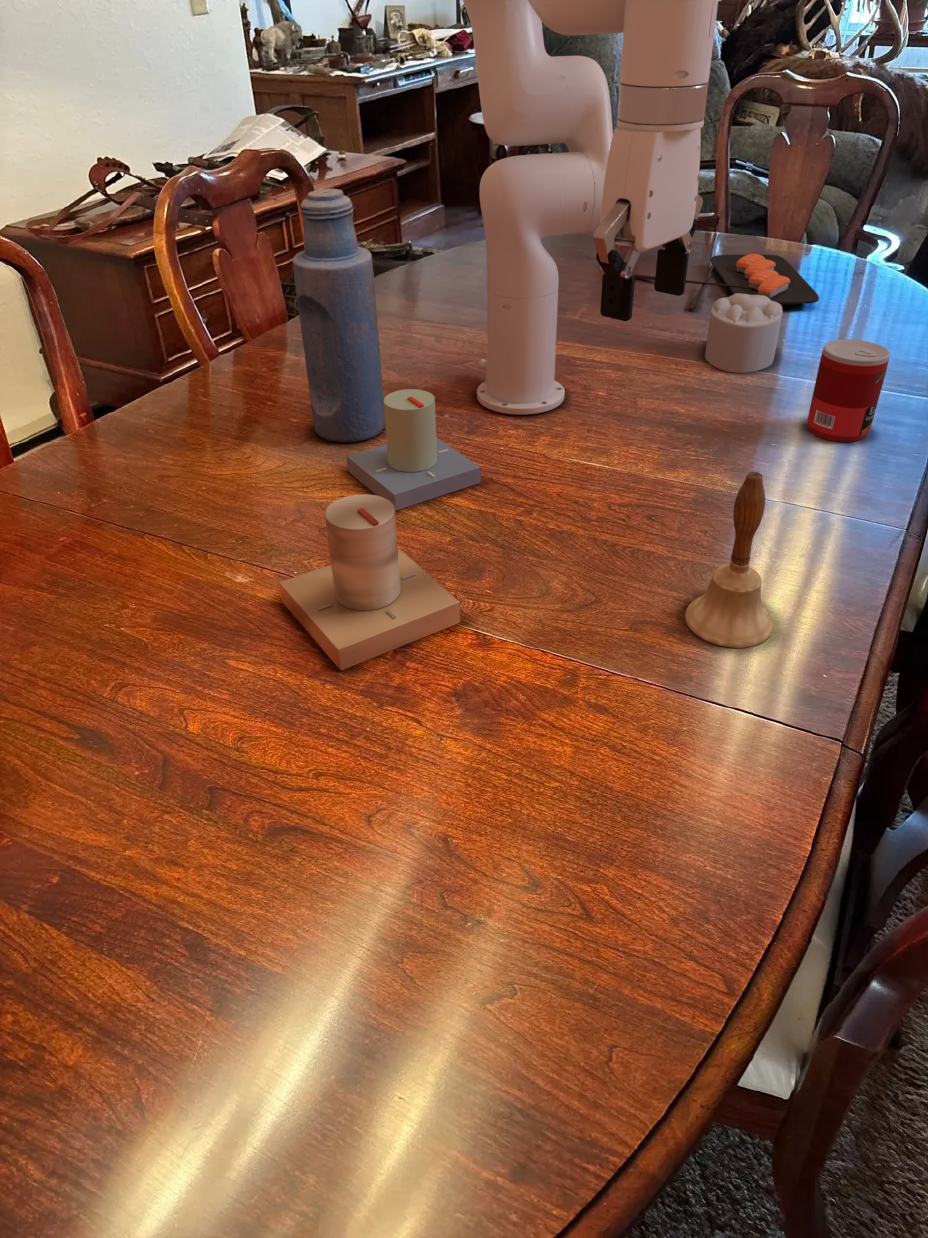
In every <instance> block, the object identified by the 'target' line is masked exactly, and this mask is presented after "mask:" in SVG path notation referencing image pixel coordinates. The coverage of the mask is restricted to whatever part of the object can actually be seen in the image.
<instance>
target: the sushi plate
mask: <svg viewBox="0 0 928 1238" xmlns="http://www.w3.org/2000/svg"><path fill="white" fill-rule="evenodd" d="M710 263H711V267H710V269H709V271H708V273H707V275H706V276H705V278H704V281H700V280H699V281H697V280H690V279H686V284H695V285H701V286H700V288H699V290H698V291H697V293H696V295H695V297H694V299H693V300H692V303H691V305H690V307H689V311H690V312H694V310H695V307H696V305H697V303H698V301H699V299H700V298H701V295H702V293H703V290H704V288H705V286H715V287H726V288H727V289H728V291H730V293H731V294H732V295H733V294H737V293H740V294H748V295H763V296H766V297H768V298H769V299H770V300H771V301H774V302H777V303H779V304H781V306H782V308H788V307H789V308H790V307H794V306H797V305H804V304H805V305H806V304H814V303H815V304H816V303H818V302H819V299H820V296H819V294H818V293H817V291H815V289H813V287H812V286H811V285H810V284H809V283H808V281H806V280H805V279H804V278H803V276H801V275H800V273H798V271H797V270H796V269H795V268H794V267H793V266H792V264H790V262H788V261H787V260H786V259H785V258H784V257H782V256H780V255H776V254H762V253H761V254H758V253H749V254H719V255H713V256H711V257H710ZM713 270H715V271H716V273H717V274H718V275H719V277H720V279H721V280H722V282H723V283H718V282H717V283H716V282H708V279H709V277H710V276H711V273H712V271H713ZM632 277H635V279H639V280H649V281H651V280H652V281H655V275H645V274H637V273H636V274H633V275H632Z"/></svg>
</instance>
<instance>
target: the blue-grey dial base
mask: <svg viewBox="0 0 928 1238" xmlns="http://www.w3.org/2000/svg"><path fill="white" fill-rule="evenodd" d="M436 444H437V462H436V464H435V465H434V466H433V467H431V468H429V469H427V470H423V471H419V472H403V471H398V470H395V469H393V468H392V467H391V466H390V465H389V464H388V455H387V443H386V444H382V445H379V446H376V447H372V448H369V449H366V450H363V451H362V450H361V451H358V452H355V453H352V454H349V455H346V464H347V471H348V473H349V474H350V475H352V476H353V477H354V478H355V479H356V480H358V482H360V483H361V484H362V485H364V486H365V487H366V488H367V489H368V490H370V492H372V493H373V495H376V496H380V497H383V498H385V499H387V500H389V501H390V502H391V503H392V504H393V505H394V508H395V512H397V511H399V510H403V509H405V508H409V507H412V506H414V505H417V504H421V503H424V502H426V501H430V500H433V499H435V498H439V497H442V496H445V495H449V494H452V493H454V492H458V491H460V490H463V489H466V488H470V487H472V486H475V485H478V484H481V481H482V480H481V466H480V465H478V464H477V463H475V462H474V461H473V460H471V459H470V458H469V457H467V456H465V455H464V454H462V453H461V452H459V451H457V450H456V449H455V448H453V447H452V446H450V444H447V443H446V442H445V441H443V440H442V439H440V438H438V436H436Z"/></svg>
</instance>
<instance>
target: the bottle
mask: <svg viewBox="0 0 928 1238" xmlns="http://www.w3.org/2000/svg"><path fill="white" fill-rule="evenodd" d="M299 206H300V211H301V213H302V219H303V232H304V233H303V244H304V245H303V247H304V250H302V251H299V252H298V253H296V254H295V255H294V256H293V258H292V269H293V278H294V279H293V280H294V285H295V293H296V301H297V306H298V315H299V321H300V322H299V323H300V329H301V338H302V345H303V351H304V352H303V353H304V361H305V370H306V376H307V382H308V391H309V399H310V408H311V415H312V420H313V427H314V431H315V434H317V435H318V437H320V438H322V439H323V440H326V441H328V442H335V443H341V444H342V443H346V444H347V443H349V444H350V443H358V442H362V441H367V440H370V439H371V438H372V439H373V438H374V437H376V436H378V435H379V434H380V433H382V432H383V430H384V429H385V414H384V398H385V397H384V386H383V383H384V382H383V373H382V361H381V360H382V357H381V349H380V348H381V347H380V337H379V324H378V323H379V321H378V311H377V298H376V287H375V275H374V274H375V273H374V265H373V256H372V255H373V254H372V253H371V251H369V250H368V249H367V248H366V247H365V248H364V247H362V246H358V245H359V244H358V243H359V242H358V238H357V233H356V229H355V225H354V224H355V223H354V217H353V212H354V207H353V203H352V201H351V199H350V197H349V196H347V195H344V191H343V190H342V189H337V188H322V189H314V190H312V191H309V192H308V193H307V196H306V198H305V199H303V200H302V201H301V202H300V204H299Z"/></svg>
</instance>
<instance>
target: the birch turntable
mask: <svg viewBox="0 0 928 1238" xmlns="http://www.w3.org/2000/svg"><path fill="white" fill-rule="evenodd" d="M398 561H399V575H400V589H401V590H400V594H399V596H398V598H397V599H396V600H395V601H394V602H392V603H391V604H389V605H387V606H385V607H382V608H379V609H375V610H363V611H362V610H354V609H350V608H347V607H345V606H343V605H341V604H340V603H339V602H338V601H337V599H336V597H335V593H334V584H333V576H332V568H331V564H329V565H325V566H322V567H319V568H316V569H314V570H311V571H308V572H305V573H303V574H300V575H297V576H293V577H291V578H288V579H285V580H282V581H280V582H278V583H279V589H280V595H281V601H282V604H283V605H284V606H285V608H287V610H288V611H289V612H290V613H291V614H292V616H293V617H294V618H295V619H296V620H297V621H298V623H299V624H300V625H301V626H302V627H303V628H304V629H305V631H306V632H307V633H308V634H309V636H310V637H311V638H312V639H313V640H314V642H315V643H316V644H317V645H318V646H319V647H320V648H321V649H322V651H323V652H324V653H325V654H326V656H327V657H328V658H329V659H330V660H331V661H332V663H333V664H335V666H336V667H337V668H338V669H339V670H340V671H341V672H342V671H345V670H347V669H349V668H352V667H354V666H356V665H358V664H361V663H362V664H363V663H364V662H366V661H369V660H371V659H374V658H376V657H379V656H381V655H383V654H384V655H385V654H387V653H389V652H391V651H393V650H396V649H398V648H399V649H400V648H401V647H403V646H405V645H409V644H411V643H413V642H416V641H419V640H421V639H423V638H427V637H428V636H431V635H434V634H437V633H438V632H441V631H443V630H446V629H448V628H451V627H453V626H456V625H458V624H460V623H461V602H460V601H459V600H458V599H457V598H456V597H455V596H453V595H452V594H451V593H450V592H449V591H448V590H447V589H446V588H444V587H443V585H441V584H440V583H439V582H438V581H437V580H435V579H434V577H432V576H431V575H430V574H428V572H426V571H425V569H423V568H422V567H420V566H419V564H418V563H416V562H415V561H414V560H413V559H412V558H411V557H409V556H408V555H407V554H406V553H405V552H404V551H403V550H401V549H400V548H399V547H398Z"/></svg>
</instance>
